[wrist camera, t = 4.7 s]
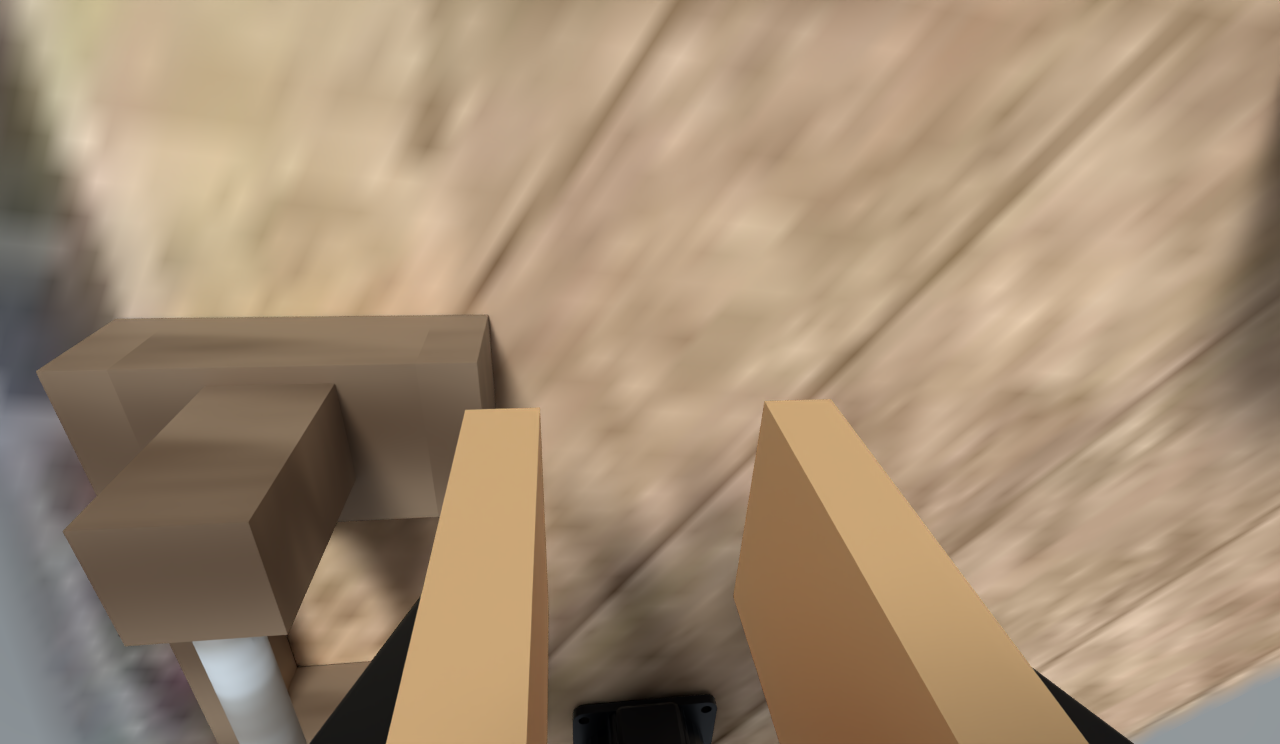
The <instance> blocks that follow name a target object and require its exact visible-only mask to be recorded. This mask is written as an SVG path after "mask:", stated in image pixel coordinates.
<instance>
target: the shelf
mask: <svg viewBox="0 0 1280 744" xmlns="http://www.w3.org/2000/svg"><path fill="white" fill-rule="evenodd" d="M36 373H37V375H38V377H39V379H40V381H41V383H42V385H43V387H44V389H45V391H46V393H47V395H48V397H49V399H50V401H51V404H52V406H53V408H54V410H55V412H56V414H57V416H58V418H59V420H60V422H61V424H62V426H63V428H64V430H65V432H66V434H67V436H68V438H69V440H70V442H71V444H72V446H73V448H74V450H75V452H76V454H77V457H78V459H79V461H80V463H81V465H82V467H83V469H84V471H85V473H86V475H87V477H88V479H89V481H90V483H91V485H92V487H93V489H94V491H95V493H96V495H97V497H96V498H95V499H94V500H93V501H92V502H91V503H90V504H89V505H88V506H87V507H86V508H85V509H84V510H83V511H82V512H81V513H80V514H79V515H78V516H77V517H76V518H75V519H74V520H73V521H72V522H71V523H70V524H69V525H68V526H67V527H66V528H65V529H64V530H63V533H64V535H65V537H66V539H67V540H68V542H69V544H70V546H71V548H72V550H73V551H74V553H75V555H76V557H77V559H78V561H79V562H80V564H81V566H82V568H83V570H84V572H85V573H86V575H87V577H88V579H89V581H90V583H91V584H92V586H93V588H94V590H95V592H96V594H97V596H98V597H99V599H100V601H101V603H102V605H103V607H104V608H105V610H106V612H107V614H108V616H109V618H110V619H111V621H112V623H113V625H114V627H115V629H116V630H117V632H118V634H119V636H120V638H121V640H122V641H123V643H124V645H125V646H135V645H149V644H163V643H169V644H170V646H171V648H172V650H173V652H174V654H175V656H176V658H177V660H178V662H179V664H180V666H181V668H182V671H183V673H184V675H185V677H186V679H187V681H188V683H189V685H190V687H191V689H192V691H193V693H194V695H195V697H196V699H197V701H198V703H199V705H200V707H201V709H202V711H203V713H204V715H205V717H206V719H207V721H208V724H209V726H210V728H211V730H212V732H213V734H214V736H215V738H216V740H217V742H218V744H309V743H310V742H311V740H312V739H313V738H314V736H315V735H316V734H317V732H318V731H319V730H320V729H321V727H322V726H323V725H324V723H325V722H326V721H327V719H328V718H329V717H330V715H331V714H332V713H333V711H334V710H335V709H336V707H337V706H338V705H339V703H340V702H341V701H342V699H343V698H344V697H345V695H346V694H347V693H348V692H349V690H350V689H351V688H352V686H353V685H354V684H355V682H356V681H357V680H358V678H359V677H360V676H361V674H362V673H363V672H364V670H365V669H366V668H367V666H368V665H369V664H370V662H360V663H347V664H334V665H321V666H308V667H297V665H296V662H295V660H294V657H293V654H292V651H291V648H290V645H289V642H288V640H287V637H286V635H288V633H289V630H290V628H291V626H292V623H293V621H294V619H295V617H296V614H297V612H298V610H299V608H300V605H301V603H302V601H303V599H304V596H305V594H306V592H307V589H308V587H309V585H310V583H311V580H312V578H313V576H314V574H315V571H316V569H317V567H318V565H319V562H320V560H321V558H322V556H323V553H324V551H325V549H326V546H327V544H328V542H329V540H330V537H331V535H332V533H333V531H334V528H335V526H336V524H337V522H345V521H365V520H384V519H404V518H424V517H439V518H440V514H441V510H442V506H443V501H444V497H445V493H446V489H447V485H448V480H449V476H450V472H451V468H452V463H453V459H454V455H455V451H456V447H457V442H458V438H459V434H460V430H461V426H462V421H463V417H464V413H465V410H476V409H496V403H495V391H494V380H493V368H492V356H491V344H490V332H489V320H488V315H432V316H339V317H245V318H151V319H115V320H113V321H112V322H110V323H109V324H107V325H105V326H104V327H102V328H101V329H99V330H98V331H96V332H95V333H93V334H92V335H90V336H89V337H87V338H86V339H84V340H83V341H81V342H80V343H78V344H77V345H75V346H74V347H72V348H71V349H69V350H68V351H66V352H65V353H63V354H61V355H60V356H58V357H57V358H55V359H54V360H52V361H51V362H49V363H48V364H46V365H45V366H43V367H42V368H40V369H39V370H37V371H36Z"/></svg>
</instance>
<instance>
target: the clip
mask: <svg viewBox="0 0 1280 744" xmlns="http://www.w3.org/2000/svg"><path fill="white" fill-rule="evenodd" d="M733 597H734V600H735V603H736V607H737V610H738V613H739V616H740V619H741V622H742V626H743V629H744V632H745V635H746V638H747V641H748V645H749V648H750V651H751V654H752V657H753V661H754V664H755V667H756V670H757V673H758V676H759V680H760V683H761V686H762V689H763V692H764V695H765V699H766V702H767V705H768V708H769V711H770V714H771V718H772V721H773V724H774V727H775V730H776V733H777V737H778V740H779V743H780V744H1089V743H1088V742H1087V740H1086V739H1085V738H1084V736H1083V735H1082V734H1081V732H1080V731H1079V730H1078V728H1077V727H1076V726H1075V724H1074V723H1073V722H1072V720H1071V719H1070V718H1069V716H1068V715H1067V714H1066V712H1065V711H1064V710H1063V708H1062V707H1061V706H1060V704H1059V703H1058V702H1057V700H1056V699H1055V698H1054V696H1053V695H1052V694H1051V692H1050V691H1049V690H1048V688H1047V687H1046V686H1045V684H1044V683H1043V682H1042V680H1041V679H1040V678H1039V676H1038V675H1037V674H1036V672H1035V671H1034V670H1033V668H1032V667H1031V666H1030V664H1029V663H1028V662H1027V660H1026V659H1025V658H1024V656H1023V655H1022V654H1021V652H1020V651H1019V650H1018V648H1017V647H1016V646H1015V644H1014V643H1013V642H1012V640H1011V639H1010V638H1009V636H1008V635H1007V634H1006V632H1005V631H1004V630H1003V628H1002V627H1001V626H1000V624H999V623H998V622H997V620H996V619H995V618H994V616H993V615H992V614H991V612H990V611H989V610H988V608H987V607H986V606H985V604H984V603H983V602H982V600H981V599H980V598H979V596H978V595H977V594H976V592H975V591H974V590H973V588H972V587H971V586H970V584H969V583H968V582H967V580H966V579H965V578H964V576H963V575H962V574H961V572H960V571H959V570H958V568H957V567H956V566H955V564H954V563H953V562H952V560H951V559H950V558H949V556H948V555H947V554H946V552H945V551H944V550H943V548H942V547H941V546H940V544H939V543H938V542H937V540H936V539H935V538H934V536H933V535H932V534H931V532H930V531H929V530H928V528H927V527H926V526H925V524H924V523H923V522H922V520H921V519H920V518H919V516H918V515H917V514H916V512H915V511H914V510H913V508H912V507H911V506H910V504H909V503H908V502H907V500H906V499H905V498H904V496H903V495H902V494H901V492H900V491H899V490H898V488H897V487H896V486H895V484H894V483H893V482H892V480H891V479H890V478H889V476H888V475H887V474H886V472H885V471H884V470H883V468H882V467H881V466H880V464H879V463H878V462H877V460H876V459H875V458H874V456H873V455H872V454H871V452H870V451H869V450H868V448H867V447H866V446H865V444H864V443H863V442H862V440H861V439H860V438H859V436H858V435H857V434H856V432H855V431H854V430H853V428H852V427H851V426H850V424H849V423H848V422H847V420H846V419H845V418H844V416H843V415H842V414H841V412H840V411H839V410H838V408H837V407H836V406H835V404H834V403H833V402H832V400H831V399H822V400H787V401H765V402H764V408H763V414H762V420H761V426H760V433H759V439H758V445H757V451H756V458H755V464H754V470H753V476H752V483H751V489H750V495H749V501H748V507H747V514H746V520H745V526H744V532H743V539H742V545H741V551H740V557H739V564H738V570H737V576H736V582H735V588H734V595H733ZM548 622H549V606H548V583H547V560H546V537H545V514H544V491H543V469H542V446H541V423H540V408H510V409H476V410H465V413H464V417H463V421H462V426H461V430H460V434H459V438H458V442H457V447H456V451H455V455H454V459H453V463H452V468H451V472H450V476H449V480H448V485H447V489H446V493H445V497H444V501H443V506H442V510H441V514H440V518H439V523H438V527H437V531H436V535H435V539H434V544H433V548H432V552H431V556H430V560H429V565H428V569H427V573H426V577H425V582H424V586H423V590H422V594H421V598H420V603H419V607H418V611H417V615H416V619H415V624H414V628H413V632H412V636H411V641H410V645H409V649H408V653H407V657H406V662H405V666H404V670H403V674H402V679H401V683H400V687H399V691H398V695H397V700H396V704H395V708H394V712H393V716H392V721H391V725H390V729H389V733H388V738H387V742H386V744H547V713H548Z"/></svg>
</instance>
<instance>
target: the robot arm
mask: <svg viewBox="0 0 1280 744" xmlns="http://www.w3.org/2000/svg"><path fill="white" fill-rule="evenodd" d="M420 598H421V596H420ZM420 598H419V599H418V600H417V602H416V603H415V604H414V606H413V607H412V608H411V610H410V611H409V612H408V614H407V615H406V616H405V617H404V619H403V620H402V621H401V623H400V624H399V625H398V627H397V628H396V629H395V631H394V632H393V633H392V635H391V636H390V637H389V639H388V640H387V641H386V643H385V644H384V645H383V647H382V648H381V649H380V651H379V652H378V653H377V655H376V656H375V657H374V658H373V660H372V661H371V662H370V664H369V665H368V666H367V668H366V669H365V670H364V672H363V673H362V674H361V676H360V677H359V678H358V680H357V681H356V682H355V684H354V685H353V686H352V688H351V689H350V690H349V692H348V693H347V694H346V695H345V697H344V698H343V699H342V701H341V702H340V703H339V705H338V706H337V707H336V709H335V710H334V711H333V713H332V714H331V715H330V717H329V718H328V719H327V721H326V722H325V723H324V725H323V726H322V727H321V729H320V730H319V731H318V732H317V734H316V735H315V736H314V738H313V739H312V740H311V742H310V743H309V744H386V742H387V738H388V733H389V729H390V725H391V721H392V716H393V712H394V708H395V704H396V700H397V695H398V691H399V687H400V683H401V679H402V674H403V670H404V666H405V662H406V657H407V653H408V649H409V645H410V641H411V636H412V632H413V628H414V624H415V619H416V615H417V611H418V607H419V603H420ZM1033 670H1034V671H1035V672H1036V674H1037V675H1038V676H1039V678H1040V679H1041V680H1042V682H1043V683H1044V684H1045V686H1046V687H1047V688H1048V690H1049V691H1050V692H1051V694H1052V695H1053V696H1054V698H1055V699H1056V700H1057V702H1058V703H1059V704H1060V706H1061V707H1062V708H1063V710H1064V711H1065V712H1066V714H1067V715H1068V716H1069V718H1070V719H1071V720H1072V722H1073V723H1074V724H1075V726H1076V727H1077V728H1078V730H1079V731H1080V732H1081V734H1082V735H1083V736H1084V738H1085V739H1086V740H1087V742H1088V743H1089V744H1134V743H1132V742H1131V741H1130V740H1128V739H1127V738H1126V737H1124V736H1123V735H1122V734H1120V733H1119V732H1118V731H1116V730H1115V729H1114V728H1112V727H1111V726H1110V725H1108V724H1107V723H1106V722H1104V721H1103V720H1102V719H1100V718H1099V717H1098V716H1096V715H1095V714H1094V713H1092V712H1091V711H1090V710H1088V709H1087V708H1086V707H1084V706H1083V705H1082V704H1080V703H1079V702H1078V701H1076V700H1075V699H1074V698H1072V697H1071V696H1070V695H1068V694H1067V693H1066V692H1064V691H1063V690H1062V689H1060V688H1059V687H1058V686H1056V685H1055V684H1054V683H1052V682H1051V681H1050V680H1048V679H1047V678H1046V677H1044V676H1043V675H1042V674H1040V673H1039V672H1038V671H1036V670H1035V669H1034V668H1033ZM716 711H717V706H716V702H715V698H714V697H713V696H712V695H709V694H704V695H692V696H681V697H670V698H659V699H648V700H636V701H625V702H614V703H603V704H592V705H582V706H579V707H577V708H575V709H574V710H573V744H711V742H712V736H713V730H714V723H715V717H716Z"/></svg>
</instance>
